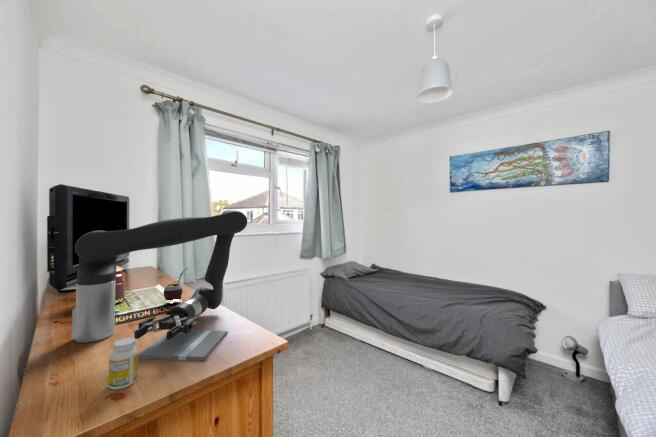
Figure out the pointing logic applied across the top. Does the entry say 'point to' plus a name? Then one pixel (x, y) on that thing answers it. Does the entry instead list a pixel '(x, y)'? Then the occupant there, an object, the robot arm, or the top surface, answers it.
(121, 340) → the supplement bottle
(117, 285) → the canister
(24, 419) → the top surface
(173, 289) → the mate gourd
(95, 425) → the top surface
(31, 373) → the top surface
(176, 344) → the floor panel
